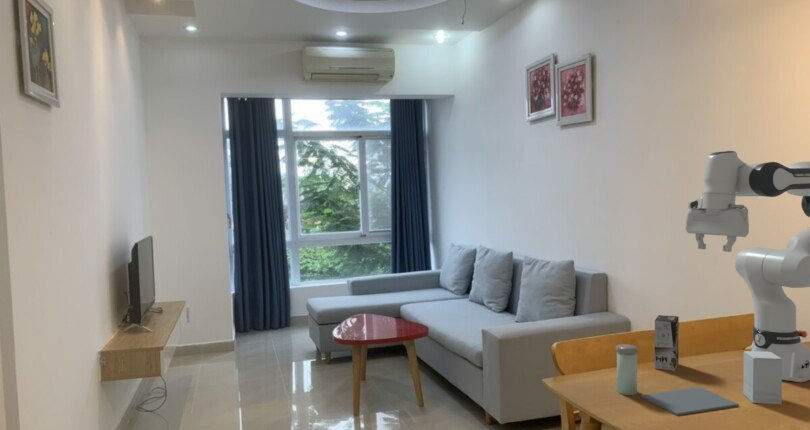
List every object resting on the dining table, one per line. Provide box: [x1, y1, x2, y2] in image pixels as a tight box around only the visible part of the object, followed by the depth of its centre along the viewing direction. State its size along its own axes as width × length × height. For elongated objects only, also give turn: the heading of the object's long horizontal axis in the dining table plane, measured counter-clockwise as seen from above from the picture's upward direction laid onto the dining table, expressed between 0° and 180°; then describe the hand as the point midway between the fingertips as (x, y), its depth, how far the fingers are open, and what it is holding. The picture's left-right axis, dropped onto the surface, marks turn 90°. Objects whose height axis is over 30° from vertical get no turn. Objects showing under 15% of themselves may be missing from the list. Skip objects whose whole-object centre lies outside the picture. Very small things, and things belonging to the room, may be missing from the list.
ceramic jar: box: [615, 343, 639, 396], centre depth 171 cm, size 6×6×13 cm
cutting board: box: [640, 386, 740, 416], centre depth 163 cm, size 20×14×1 cm
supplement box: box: [743, 350, 783, 405], centre depth 163 cm, size 7×7×13 cm
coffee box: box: [654, 314, 680, 372], centre depth 194 cm, size 9×6×16 cm
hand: (714, 250), depth 176 cm, fingers open, 8 cm apart
